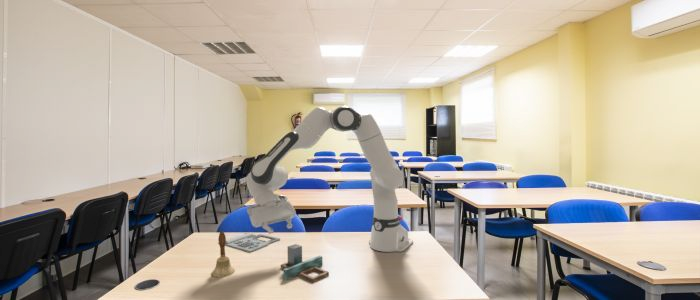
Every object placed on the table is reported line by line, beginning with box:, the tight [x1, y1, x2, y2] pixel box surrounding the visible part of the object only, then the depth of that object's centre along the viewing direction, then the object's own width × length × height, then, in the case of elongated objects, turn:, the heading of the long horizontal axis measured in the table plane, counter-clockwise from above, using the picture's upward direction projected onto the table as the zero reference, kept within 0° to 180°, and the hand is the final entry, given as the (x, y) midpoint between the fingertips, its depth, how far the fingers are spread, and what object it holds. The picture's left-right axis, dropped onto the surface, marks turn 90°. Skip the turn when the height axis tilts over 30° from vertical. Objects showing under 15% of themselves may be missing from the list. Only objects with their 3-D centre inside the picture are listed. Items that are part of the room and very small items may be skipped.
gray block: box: [287, 243, 303, 267], centre depth 128 cm, size 4×4×8 cm
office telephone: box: [225, 231, 281, 253], centre depth 159 cm, size 23×3×20 cm
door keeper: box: [280, 255, 330, 283], centre depth 124 cm, size 18×19×4 cm
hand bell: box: [211, 230, 236, 278], centre depth 123 cm, size 8×8×16 cm
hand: (281, 230), depth 133 cm, fingers open, 8 cm apart
